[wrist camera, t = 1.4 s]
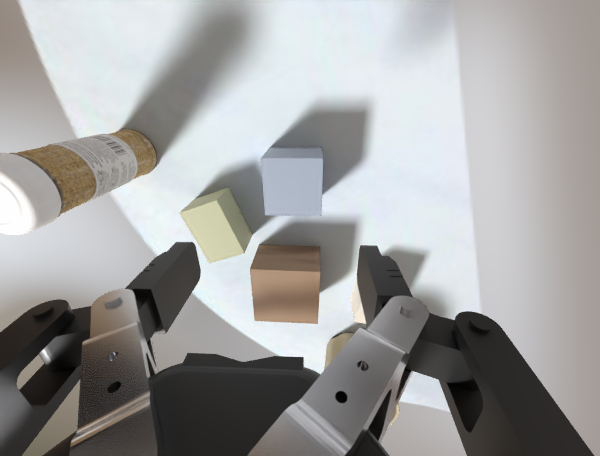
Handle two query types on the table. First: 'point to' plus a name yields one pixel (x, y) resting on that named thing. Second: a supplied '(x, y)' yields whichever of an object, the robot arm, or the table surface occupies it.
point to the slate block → (292, 181)
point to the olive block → (217, 225)
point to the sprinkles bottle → (67, 176)
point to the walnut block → (286, 283)
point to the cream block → (357, 305)
